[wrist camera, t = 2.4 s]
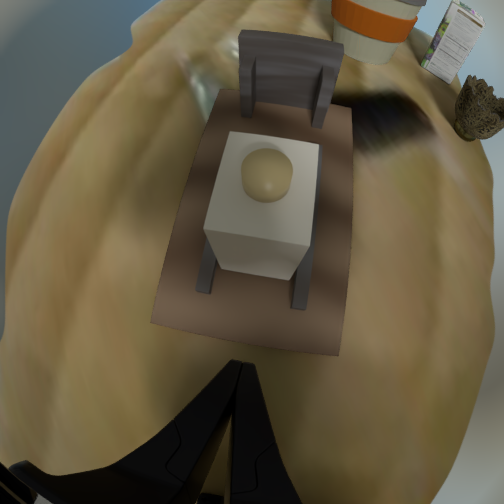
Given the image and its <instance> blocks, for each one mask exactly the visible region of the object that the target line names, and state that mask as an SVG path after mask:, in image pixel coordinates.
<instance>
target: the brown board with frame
mask: <svg viewBox="0 0 504 504" xmlns="http://www.w3.org/2000/svg"><path fill="white" fill-rule="evenodd" d="M238 42H239V64H240V68H239V83H240V90H230V89H220V91H219V93H218V96H217V98H216V101H215V103H214V106H213V109H212V111H211V114H210V116H209V119H208V122H207V124H206V127H205V130H204V133H203V135H202V138H201V141H200V144H199V147H198V150H197V153H196V155H195V158H194V161H193V164H192V167H191V170H190V173H189V177H188V180H187V183H186V186H185V189H184V192H183V196H182V199H181V202H180V206H179V209H178V212H177V216H176V219H175V223H174V226H173V230H172V234H171V237H170V241H169V245H168V249H167V252H166V256H165V260H164V264H163V268H162V272H161V277H160V281H159V285H158V289H157V294H156V298H155V303H154V308H153V312H152V317H151V322H150V323H153V324H157V325H161V326H165V327H169V328H173V329H178V330H182V331H186V332H191V333H195V334H200V335H204V336H209V337H214V338H219V339H224V340H229V341H234V342H240V343H245V344H251V345H257V346H263V347H269V348H276V349H283V350H290V351H297V352H305V353H313V354H322V355H331V356H339V350H340V343H341V336H342V329H343V322H344V314H345V306H346V297H347V287H348V277H349V265H350V251H351V235H352V212H353V138H352V116H351V108H347V107H343V106H338V105H334V104H330V102H331V98H332V95H333V91H334V88H335V84H336V81H337V77H338V73H339V70H340V66H341V62H342V59H343V55H344V45H343V44H342V43H337V42H333V41H328V40H323V39H318V38H313V37H307V36H301V35H294V34H287V33H278V32H269V31H257V30H241V32H240V34H239V36H238ZM230 131H232V132H241V133H249V134H257V135H265V136H272V137H279V138H285V139H291V140H297V141H303V142H308V143H313V144H319V151H318V166H317V179H316V191H315V202H314V212H313V222H312V232H311V241H310V247H309V249H308V250H307V252H306V254H305V255H304V257H303V259H302V260H301V262H300V264H299V265H298V267H297V268H296V270H295V272H294V273H293V275H292V277H291V278H290V280H283V279H277V278H271V277H265V276H259V275H253V274H247V273H242V272H236V271H230V270H224V269H221V267H220V265H219V263H218V261H217V258H216V256H215V254H214V252H213V250H212V247H211V245H210V243H209V241H208V239H207V236H206V234H205V232H204V230H203V227H204V223H205V219H206V215H207V211H208V208H209V204H210V200H211V196H212V192H213V189H214V185H215V181H216V178H217V174H218V170H219V167H220V163H221V160H222V156H223V153H224V149H225V146H226V142H227V139H228V136H229V132H230Z"/></svg>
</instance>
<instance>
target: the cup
mask: <svg viewBox="0 0 504 504" xmlns="http://www.w3.org/2000/svg"><path fill="white" fill-rule="evenodd" d="M493 91H494V89H493V87H492V86H489V87H488V85H487V83H486V82H485V81H484V79H479V80H477V78H476V76H473V78H472V76H471V75H468V77H467V79H466V81H465V83H464V85H463V87H462V90H461V92H460V94H459V96H458V98H457V101H456V104H455V114H456V117H457V119H456V120H455V123H454V127H455V130H456V132H457V133H458V135H459V136H460V137H461V138H462V139H464V140H465V141H468V142H471V141H474V140H475V139H476V138H477V139H488V138H490V137H492V136H493V135H495V134H496V133H497V132H499V131H500V130H501V129H502V128H504V98H498V99H499V100H498V99H497V98H496V96H494V95H493Z"/></svg>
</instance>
